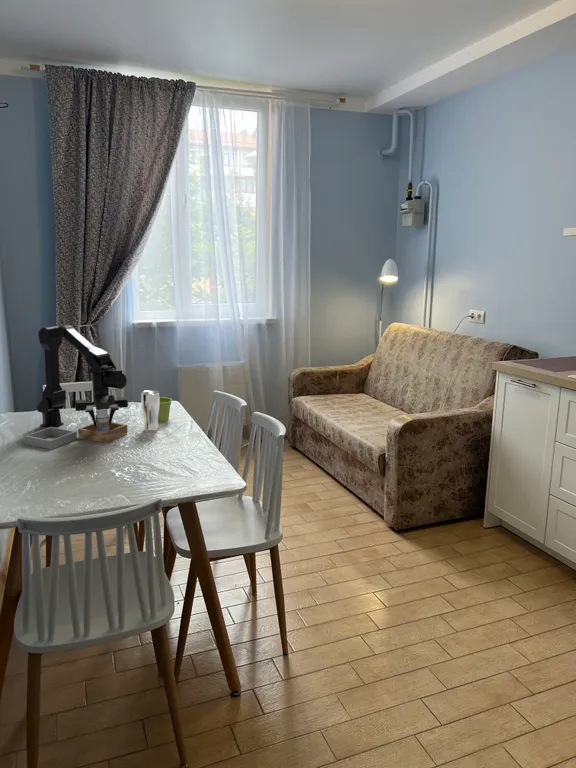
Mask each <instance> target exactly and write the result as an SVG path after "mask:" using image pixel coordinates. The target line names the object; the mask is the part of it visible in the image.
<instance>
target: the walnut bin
mask: <svg viewBox="0 0 576 768" xmlns="http://www.w3.org/2000/svg"><path fill="white" fill-rule="evenodd" d="M77 431H78V432H77V437H78V439H82V440H87V441H94V442H100V443H104V444H105V443H106V444H107V443H108V442H110V441H113V440H115V439H117V438H120V437H123V436H125V435H127V434H128V424H125V423H119V422H113V421H111V425H109V431H108V432H104V433H103V432H97V430H96V427H95V425H94V422H93V423H91V424H88V425H85V426H83V427H80V428H78V429H77Z"/></svg>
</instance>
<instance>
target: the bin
mask: <svg viewBox="0 0 576 768" xmlns="http://www.w3.org/2000/svg"><path fill="white" fill-rule="evenodd" d="M77 431H78V430H77ZM77 431H76V430H70V429H67V428H65V429H64V428H59V427H45V428H44V429H41V430H38V431H35V432H31V433H28V434H25V435H24V437H23V438H24V444H25V445H28V446H33V447H38V448H43V449H44V448H45V449H49V450H52V449H55V448H59V447H60V446H64V445H67V444H68V443H71V442H73V441H77V440H78V432H77ZM50 436H53V437H55V438H52V439H47V437H50Z"/></svg>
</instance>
